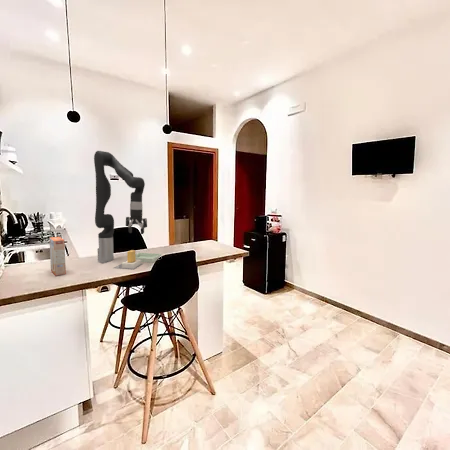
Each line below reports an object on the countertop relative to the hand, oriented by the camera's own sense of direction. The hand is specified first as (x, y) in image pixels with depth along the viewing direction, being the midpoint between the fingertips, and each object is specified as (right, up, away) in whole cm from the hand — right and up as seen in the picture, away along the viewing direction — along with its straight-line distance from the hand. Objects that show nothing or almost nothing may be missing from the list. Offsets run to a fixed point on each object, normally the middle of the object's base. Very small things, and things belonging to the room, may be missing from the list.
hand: (136, 233), depth 170 cm
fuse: (-3, -21, +1) cm, 22 cm away
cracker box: (-43, -23, -13) cm, 50 cm away
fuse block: (-5, -22, +2) cm, 23 cm away
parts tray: (0, -20, +20) cm, 28 cm away
